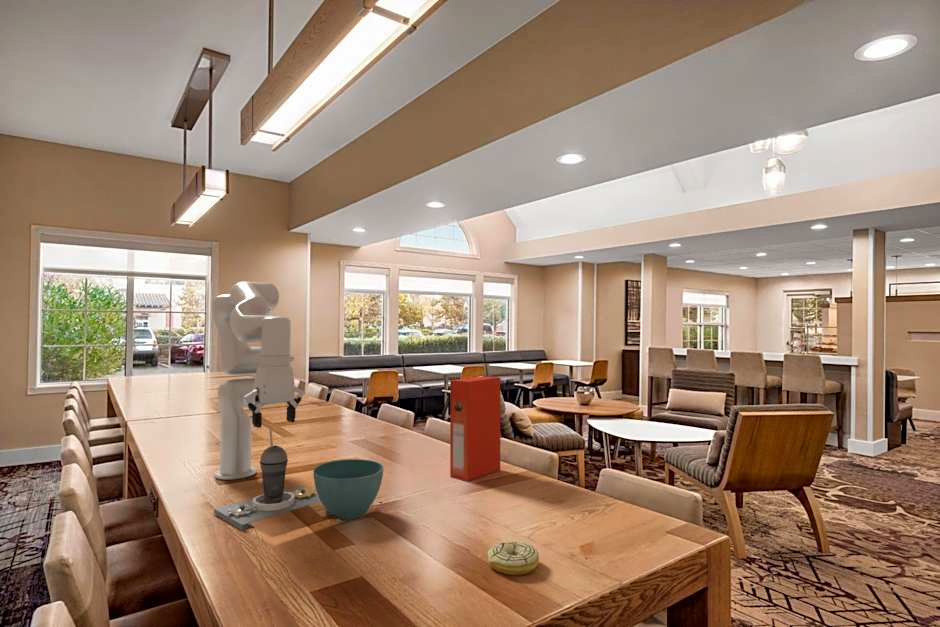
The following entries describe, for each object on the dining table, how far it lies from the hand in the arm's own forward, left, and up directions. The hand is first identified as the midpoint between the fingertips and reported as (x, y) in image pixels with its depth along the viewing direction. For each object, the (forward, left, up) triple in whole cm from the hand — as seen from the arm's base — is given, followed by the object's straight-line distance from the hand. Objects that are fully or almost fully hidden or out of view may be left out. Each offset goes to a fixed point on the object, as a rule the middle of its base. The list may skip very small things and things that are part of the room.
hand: (274, 424), depth 143 cm
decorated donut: (+68, +17, -24) cm, 74 cm away
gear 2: (0, +9, -22) cm, 23 cm away
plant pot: (+18, +11, -23) cm, 32 cm away
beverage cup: (0, 0, -22) cm, 22 cm away
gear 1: (0, -9, -22) cm, 23 cm away
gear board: (0, 0, -23) cm, 23 cm away
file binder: (+19, +62, -23) cm, 69 cm away
